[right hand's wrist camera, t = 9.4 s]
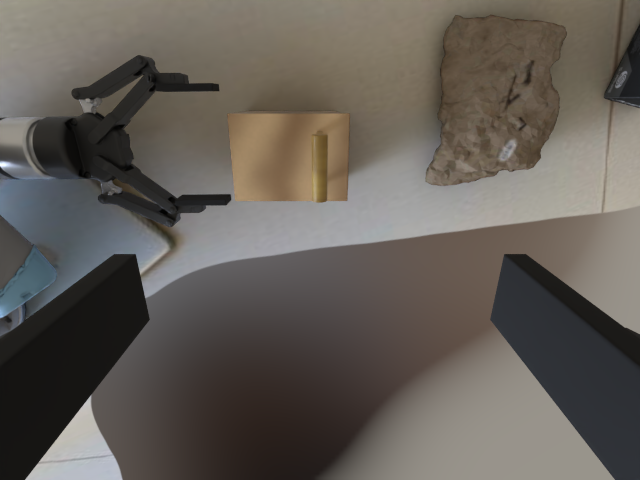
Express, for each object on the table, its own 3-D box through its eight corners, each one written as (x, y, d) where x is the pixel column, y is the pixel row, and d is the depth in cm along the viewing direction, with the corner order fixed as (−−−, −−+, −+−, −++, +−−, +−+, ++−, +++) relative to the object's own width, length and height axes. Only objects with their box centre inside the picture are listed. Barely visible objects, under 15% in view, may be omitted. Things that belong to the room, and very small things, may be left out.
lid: (349, 113, 40) (356, 116, 32) (346, 199, 43) (352, 218, 36) (229, 113, 40) (208, 116, 32) (236, 199, 43) (220, 218, 36)
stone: (532, 190, 49) (549, 193, 44) (423, 184, 52) (426, 186, 47) (561, 26, 45) (585, 5, 39) (441, 29, 48) (446, 10, 42)
